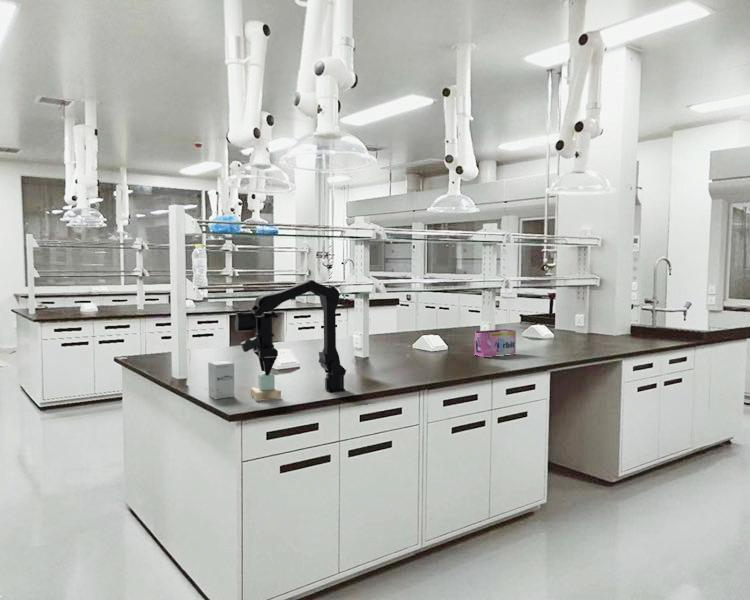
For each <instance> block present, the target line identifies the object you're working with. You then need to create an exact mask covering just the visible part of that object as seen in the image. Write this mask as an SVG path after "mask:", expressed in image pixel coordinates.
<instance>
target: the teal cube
mask: <svg viewBox="0 0 750 600" xmlns="http://www.w3.org/2000/svg"><path fill="white" fill-rule="evenodd" d="M257 375H258V387H259V389H260V390H261V391H262V390H275V386H276V385H275V375H274V374H273V373H270V374H269V375H268V376H266V375H265V373H260V374H259V373H258V374H257Z"/></svg>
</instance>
